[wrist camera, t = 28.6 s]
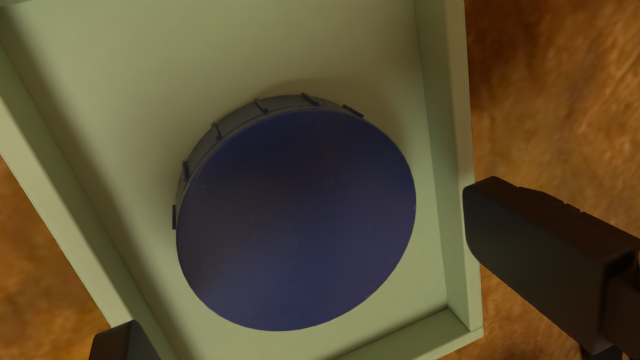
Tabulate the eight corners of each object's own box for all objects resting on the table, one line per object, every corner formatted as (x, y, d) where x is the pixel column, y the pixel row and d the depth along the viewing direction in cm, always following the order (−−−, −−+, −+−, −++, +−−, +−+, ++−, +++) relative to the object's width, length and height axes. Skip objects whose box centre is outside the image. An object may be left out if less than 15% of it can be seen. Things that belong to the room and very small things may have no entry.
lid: (149, 110, 10) (145, 130, 9) (388, 79, 12) (422, 91, 10) (198, 315, 13) (201, 360, 11) (387, 266, 15) (413, 298, 13)
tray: (452, 302, 18) (484, 337, 16) (200, 417, 15) (203, 473, 14) (409, -114, 11) (457, -139, 9) (-51, -11, 9) (-112, -16, 7)
